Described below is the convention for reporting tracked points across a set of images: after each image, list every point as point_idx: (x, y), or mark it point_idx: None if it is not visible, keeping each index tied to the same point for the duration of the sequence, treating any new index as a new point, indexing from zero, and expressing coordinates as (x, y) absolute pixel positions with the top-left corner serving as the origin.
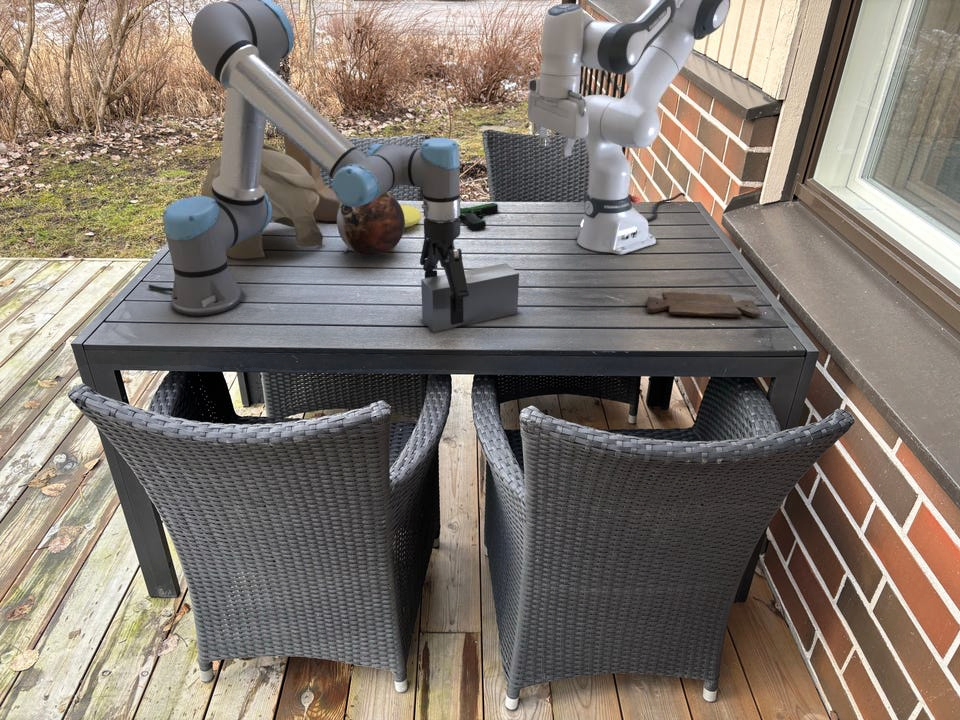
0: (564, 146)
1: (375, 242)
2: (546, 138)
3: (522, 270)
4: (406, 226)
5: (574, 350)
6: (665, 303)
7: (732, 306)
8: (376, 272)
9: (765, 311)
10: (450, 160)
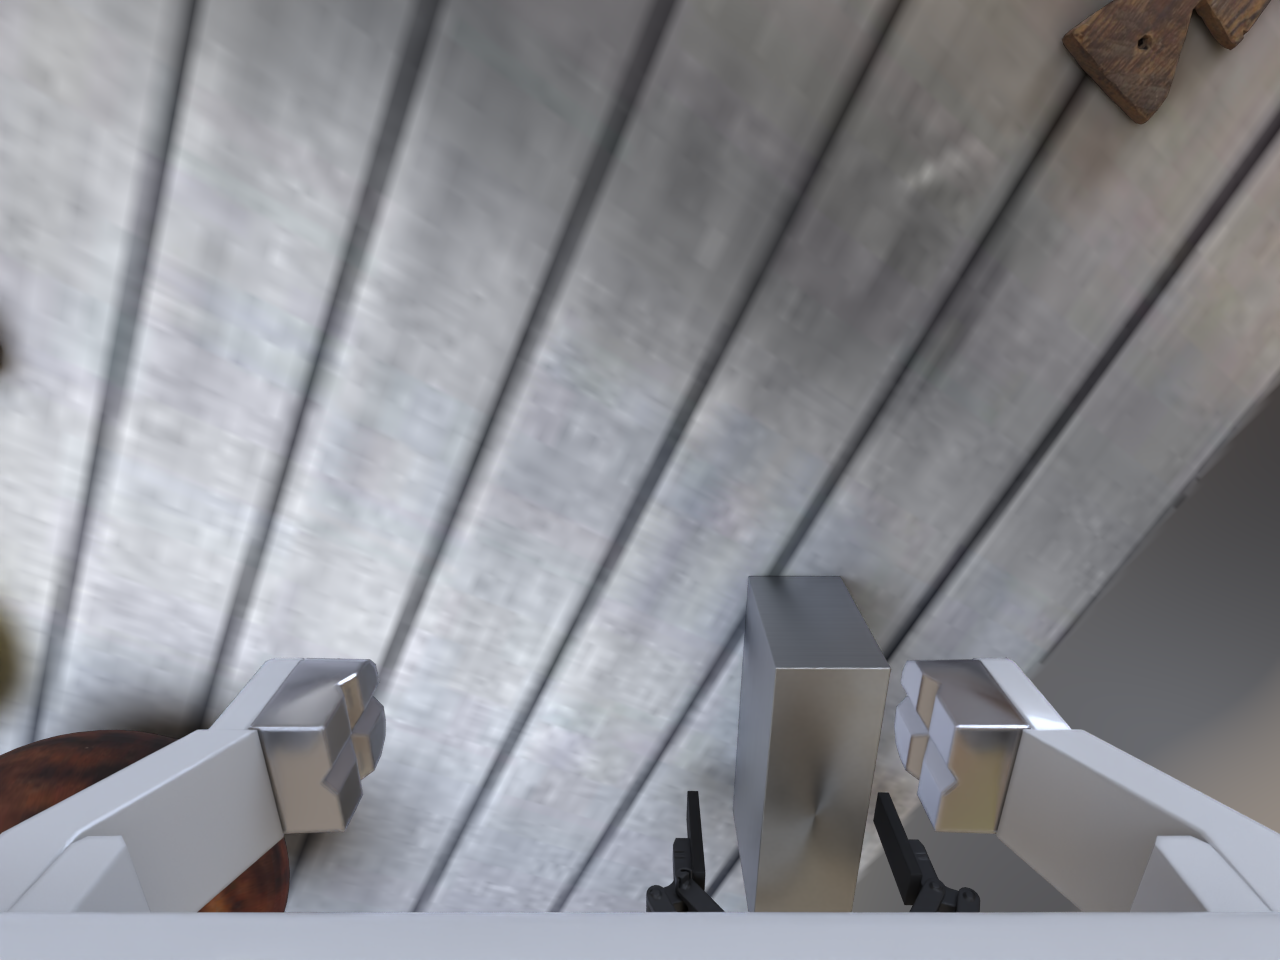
0: (1041, 866)
1: (286, 887)
2: (320, 776)
3: (516, 382)
4: None
5: (1142, 540)
6: (1174, 1)
7: None
8: (360, 812)
9: None
10: None
